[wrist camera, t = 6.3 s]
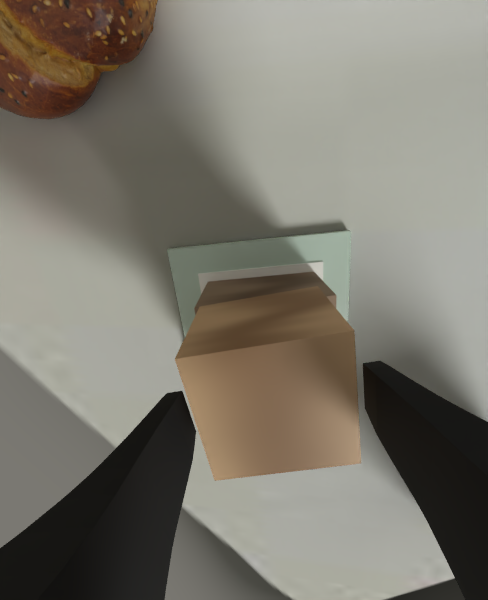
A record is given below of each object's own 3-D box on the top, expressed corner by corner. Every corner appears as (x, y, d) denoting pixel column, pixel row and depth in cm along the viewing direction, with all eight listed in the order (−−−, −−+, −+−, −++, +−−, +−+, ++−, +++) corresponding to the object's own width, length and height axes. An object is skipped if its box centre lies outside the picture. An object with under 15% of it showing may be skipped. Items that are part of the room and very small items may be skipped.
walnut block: (314, 271, 15) (336, 295, 11) (315, 362, 17) (334, 409, 13) (207, 281, 15) (194, 308, 11) (221, 370, 17) (214, 417, 13)
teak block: (317, 286, 11) (354, 330, 7) (327, 384, 12) (361, 463, 9) (199, 306, 11) (174, 358, 7) (224, 399, 13) (214, 480, 9)
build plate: (348, 230, 14) (352, 231, 14) (343, 380, 18) (346, 386, 17) (169, 248, 15) (166, 250, 14) (198, 391, 18) (196, 397, 18)
